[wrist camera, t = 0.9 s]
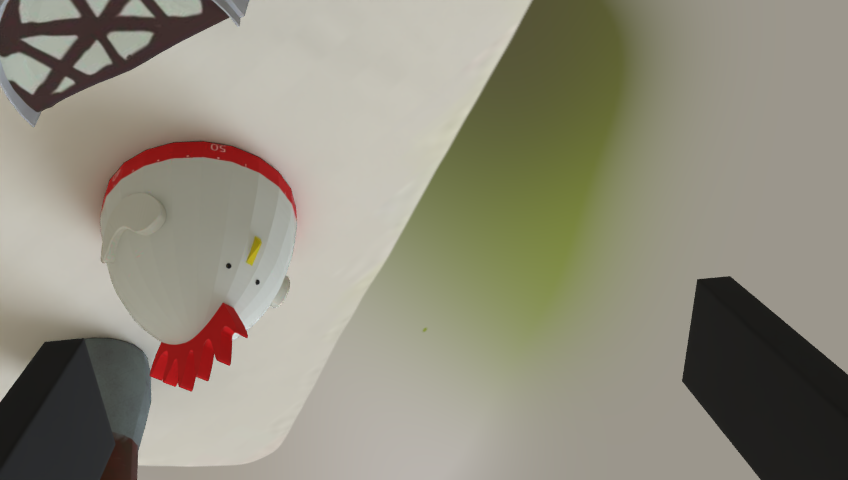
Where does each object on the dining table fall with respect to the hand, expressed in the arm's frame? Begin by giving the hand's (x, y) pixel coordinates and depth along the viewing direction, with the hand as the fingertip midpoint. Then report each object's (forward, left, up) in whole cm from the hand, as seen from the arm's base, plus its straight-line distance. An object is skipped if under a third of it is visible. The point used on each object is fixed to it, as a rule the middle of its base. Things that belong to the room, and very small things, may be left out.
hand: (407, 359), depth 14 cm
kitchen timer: (+18, -19, -30) cm, 40 cm away
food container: (-2, -11, -30) cm, 32 cm away
